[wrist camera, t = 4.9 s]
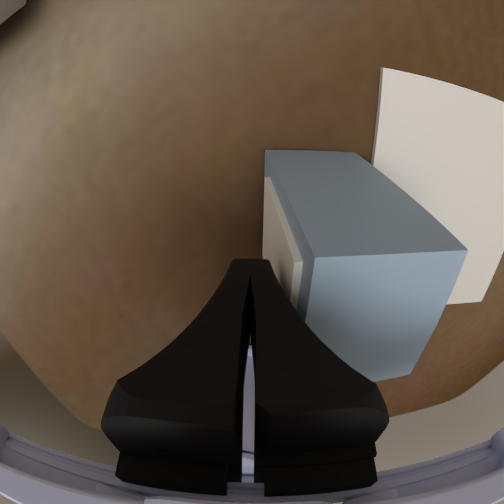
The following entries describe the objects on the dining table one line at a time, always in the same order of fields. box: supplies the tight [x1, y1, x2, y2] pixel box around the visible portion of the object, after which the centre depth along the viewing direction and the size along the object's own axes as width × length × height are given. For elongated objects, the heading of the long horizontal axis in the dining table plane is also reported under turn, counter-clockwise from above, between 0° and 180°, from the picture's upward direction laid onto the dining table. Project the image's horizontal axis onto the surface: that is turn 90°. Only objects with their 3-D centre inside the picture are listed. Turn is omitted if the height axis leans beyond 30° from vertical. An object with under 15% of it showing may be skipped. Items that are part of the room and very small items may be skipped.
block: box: [262, 150, 468, 382], centre depth 14 cm, size 6×5×10 cm
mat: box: [371, 67, 504, 304], centre depth 18 cm, size 16×13×1 cm
